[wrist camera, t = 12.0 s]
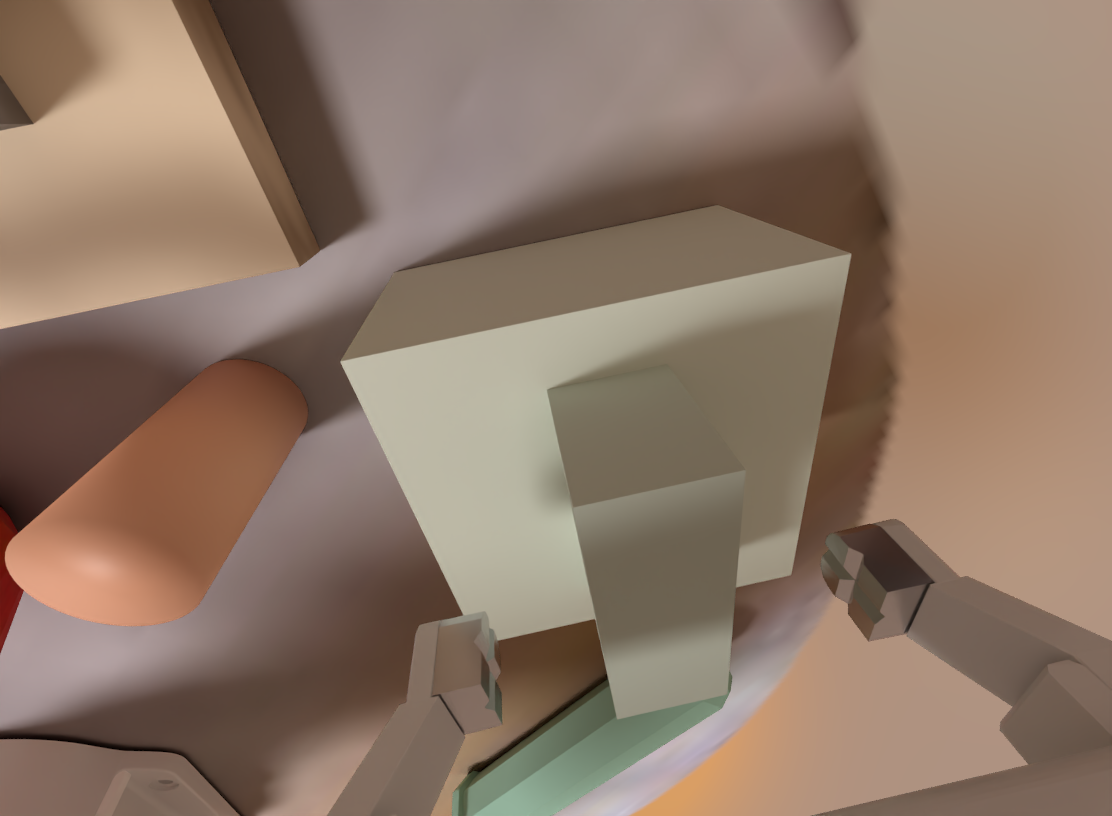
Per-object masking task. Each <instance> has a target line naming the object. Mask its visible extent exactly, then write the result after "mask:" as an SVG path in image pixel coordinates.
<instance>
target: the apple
mask: <svg viewBox="0 0 1112 816" xmlns="http://www.w3.org/2000/svg"><path fill="white" fill-rule="evenodd" d="M17 534H18V532H17V530H16V528H15V526H14V524H13V522H12V520H11V518H10V517H9V515H8V514H7V513H6V512H5V511H4V510H3V509H2V508H1V507H0V653H1V650H2V648H3V645H4V642H5V640H6V637H7V634H8V632H9V629H10V626H11V624H12V621H13V618H14V615H15V613H16V610H17V607H18V605H19V602H20V599H21V597H22V594H23V591H24V590H23V589H22V588H21V587H20V586H19V585H18V584H17V583H16V582H15V581H14V579H13V578H12V576H11V575H10V573H9V571H8V569H7V567H6V562H5V552H6V549H7V546H8V544H9V543H10V541H11V540H12V539H13V538H14V537H15V536H16V535H17Z"/></svg>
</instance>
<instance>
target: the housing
mask: <svg viewBox="0 0 1112 816" xmlns="http://www.w3.org/2000/svg"><path fill="white" fill-rule="evenodd" d="M851 254H852V253H849V252H846V251H843V250H841V249H838V248H835V247H832V246H830V245H827V244H824V243H821V242H818V241H816V240H813V239H810V238H807V237H805V236H802V235H799V234H796V233H794V232H791V231H788V230H785V229H783V228H780V227H777V226H774V225H772V224H769V223H766V222H763V221H761V220H758V219H755V218H752V217H750V216H747V215H744V214H741V213H739V212H736V211H733V210H730V209H728V208H725V207H722V206H719V205H715V206H710V207H705V208H701V209H696V210H691V211H686V212H681V213H677V214H672V215H667V216H662V217H657V218H653V219H648V220H643V221H638V222H633V223H629V224H624V225H619V226H614V227H609V228H605V229H600V230H595V231H590V232H585V233H581V234H576V235H571V236H566V237H561V238H557V239H552V240H547V241H542V242H537V243H533V244H528V245H523V246H518V247H513V248H509V249H504V250H499V251H494V252H489V253H485V254H480V255H475V256H470V257H465V258H461V259H456V260H451V261H446V262H441V263H437V264H432V265H427V266H422V267H417V268H413V269H408V270H403V271H398V272H394V274H393V275H392V277H391V279H390V280H389V282H388V284H387V285H386V287H385V289H384V290H383V292H382V294H381V295H380V297H379V298H378V300H377V302H376V303H375V305H374V307H373V308H372V310H371V312H370V313H369V315H368V316H367V318H366V320H365V321H364V323H363V325H362V326H361V328H360V330H359V331H358V333H357V335H356V336H355V338H354V339H353V341H352V343H351V344H350V346H349V348H348V349H347V351H346V353H345V354H344V356H343V358H342V359H341V361H340V362H341V365H342V367H343V369H344V371H345V373H346V375H347V377H348V379H349V381H350V383H351V385H352V387H353V389H354V391H355V393H356V395H357V397H358V399H359V402H360V404H361V406H362V408H363V410H364V412H365V414H366V416H367V418H368V420H369V422H370V424H371V426H372V428H373V430H374V432H375V434H376V436H377V438H378V441H379V443H380V445H381V447H382V449H383V451H384V453H385V455H386V457H387V459H388V461H389V463H390V465H391V467H392V469H393V471H394V473H395V475H396V478H397V480H398V482H399V484H400V486H401V488H402V490H403V492H404V494H405V496H406V498H407V500H408V502H409V504H410V506H411V508H412V510H413V512H414V514H415V517H416V519H417V521H418V523H419V525H420V527H421V529H422V531H423V533H424V535H425V537H426V539H427V541H428V543H429V545H430V547H431V549H432V551H433V554H434V556H435V558H436V560H437V562H438V564H439V566H440V568H441V570H442V572H443V574H444V576H445V578H446V580H447V582H448V584H449V586H450V588H451V590H452V593H453V595H454V597H455V599H456V601H457V603H458V605H459V607H460V609H461V611H462V613H463V615H468V614H473V613H478V612H482V611H485V612H486V614H487V616H488V618H489V628H491V629H493V630H494V632H495V634H496V637H497V640H503V639H507V638H512V637H516V636H521V635H525V634H530V633H534V632H539V631H543V630H548V629H552V628H557V627H561V626H566V625H570V624H575V623H579V622H584V621H588V620H593V619H595V620H596V625H597V629H598V634H599V639H600V643H601V648H602V652H603V657H604V661H605V666H606V671H607V675H608V680H609V684H610V689H611V694H612V698H613V703H614V707H615V712H616V716H617V719H622V718H626V717H630V716H635V715H639V714H644V713H648V712H652V711H657V710H661V709H666V708H670V707H674V706H679V705H683V704H688V703H692V702H696V701H701V700H705V699H710V698H714V697H718V696H723V695H727V691H728V678H729V666H730V654H731V642H732V630H733V618H734V606H735V594H736V587H740V586H745V585H749V584H754V583H758V582H763V581H767V580H772V579H776V578H781V577H785V576H790V575H791V573H792V568H793V563H794V557H795V552H796V547H797V542H798V536H799V531H800V526H801V520H802V515H803V510H804V504H805V499H806V494H807V488H808V483H809V478H810V472H811V467H812V462H813V456H814V451H815V446H816V440H817V435H818V430H819V424H820V419H821V414H822V408H823V403H824V398H825V392H826V387H827V382H828V377H829V371H830V366H831V361H832V355H833V350H834V345H835V339H836V334H837V329H838V323H839V318H840V313H841V307H842V302H843V297H844V291H845V286H846V281H847V275H848V270H849V265H850V259H851Z"/></svg>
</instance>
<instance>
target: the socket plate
mask: <svg viewBox="0 0 1112 816" xmlns="http://www.w3.org/2000/svg"><path fill="white" fill-rule="evenodd" d="M319 251H320V248H319V246H318V244H317V242H316V240H315V237H314V235H313V233H312V231H311V228H310V226H309V224H308V222H307V219H306V217H305V215H304V213H303V210H302V208H301V206H300V204H299V201H298V199H297V197H296V195H295V193H294V190H293V188H292V186H291V184H290V181H289V179H288V177H287V175H286V172H285V170H284V168H283V166H282V163H281V161H280V159H279V157H278V154H277V152H276V150H275V148H274V145H273V143H272V141H271V139H270V137H269V134H268V132H267V130H266V128H265V125H264V123H263V121H262V119H261V116H260V114H259V112H258V110H257V107H256V105H255V103H254V101H253V98H252V96H251V94H250V92H249V89H248V87H247V85H246V83H245V81H244V78H243V76H242V74H241V72H240V69H239V67H238V65H237V63H236V60H235V58H234V56H233V54H232V51H231V49H230V47H229V45H228V42H227V40H226V38H225V36H224V34H223V31H222V29H221V27H220V25H219V22H218V20H217V18H216V16H215V13H214V11H213V9H212V7H211V4H210V2H209V0H0V329H3V328H8V327H13V326H18V325H22V324H27V323H32V322H37V321H42V320H46V319H51V318H56V317H61V316H66V315H70V314H75V313H80V312H85V311H90V310H94V309H99V308H104V307H109V306H114V305H118V304H123V303H128V302H133V301H138V300H143V299H147V298H152V297H157V296H162V295H167V294H171V293H176V292H181V291H186V290H191V289H195V288H200V287H205V286H210V285H215V284H219V283H224V282H229V281H234V280H239V279H243V278H248V277H253V276H258V275H263V274H267V273H272V272H277V271H282V270H287V269H292V268H296V267H300V266H301V265H303V264H304V263H305V262H307V261H308V260H309V259H310V258H312V257H313V256H314V255H316V254H317V253H318V252H319Z"/></svg>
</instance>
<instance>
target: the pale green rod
mask: <svg viewBox="0 0 1112 816" xmlns="http://www.w3.org/2000/svg"><path fill="white" fill-rule="evenodd" d="M731 683H732V675H731V673H730V671H729V678H728V691H727V695H723V696H718V697H714V698H710V699H705V700H701V701H696V702H692V703H688V704H683V705H679V706H674V707H670V708H666V709H661V710H657V711H652V712H648V713H644V714H639V715H635V716H630V717H626V718H622V719H617V716H616V712H615V707H614V703H613V698H612V694H611V689H610V684H609V680H608V679H607V680H605V681H604V682H603V683H601V684H600V685H598V686H597V687H596V688H594V689H593V690H592V691H590V692H589V693H587V694H586V695H585V696H583V697H582V698H581V699H579V700H578V701H576V702H575V703H574V704H572V705H571V706H569V707H568V708H567V709H565V710H564V711H563V712H561V713H560V714H558V715H557V716H556V717H554V718H553V719H552V720H550V721H549V722H547V723H546V724H545V725H543V726H542V727H541V728H539V729H538V730H537V731H535V732H534V733H533V734H531V735H530V736H528V737H527V738H526V739H524V740H523V741H522V742H520V743H519V744H518V745H516V746H515V747H514V748H512V749H511V750H509V751H508V752H507V753H505V754H504V755H503V756H501V757H500V758H499V759H497V760H496V761H495V762H493V763H492V764H490V765H489V766H488V767H486V768H485V769H484V770H482V771H481V772H478V771H472V772H471V773H469V774H468V775H467V776H466V777H465V779H464V780H463V781H462V782H461V784H460V785H459V786H458V787H457V788H456V790H455V791H454V792H453V801H452V816H552V815H554V814H555V813H557V812H559V811H560V810H562V809H563V808H565V807H566V806H568V805H570V804H571V803H573V802H574V801H576V800H578V799H579V798H581V797H582V796H584V795H585V794H587V793H589V792H590V791H592V790H593V789H595V788H597V787H598V786H600V785H601V784H603V783H604V782H606V781H608V780H609V779H611V778H612V777H614V776H616V775H617V774H619V773H620V772H622V771H623V770H625V769H627V768H628V767H630V766H631V765H633V764H634V763H636V762H638V761H639V760H641V759H642V758H644V757H646V756H647V755H649V754H650V753H652V752H653V751H655V750H657V749H658V748H660V747H661V746H663V745H665V744H666V743H668V742H669V741H671V740H672V739H674V738H676V737H677V736H679V735H680V734H682V733H684V732H685V731H687V730H688V729H690V728H691V727H693V726H695V725H696V724H698V723H699V722H701V721H702V720H704V719H706V718H707V717H709V716H710V715H712V714H714V713H715V712H717V711H718V710H720V709H721V708H722V707H723V705H724V703H725V701H726V699H727V697H728V695H729V693H730V690H731Z"/></svg>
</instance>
